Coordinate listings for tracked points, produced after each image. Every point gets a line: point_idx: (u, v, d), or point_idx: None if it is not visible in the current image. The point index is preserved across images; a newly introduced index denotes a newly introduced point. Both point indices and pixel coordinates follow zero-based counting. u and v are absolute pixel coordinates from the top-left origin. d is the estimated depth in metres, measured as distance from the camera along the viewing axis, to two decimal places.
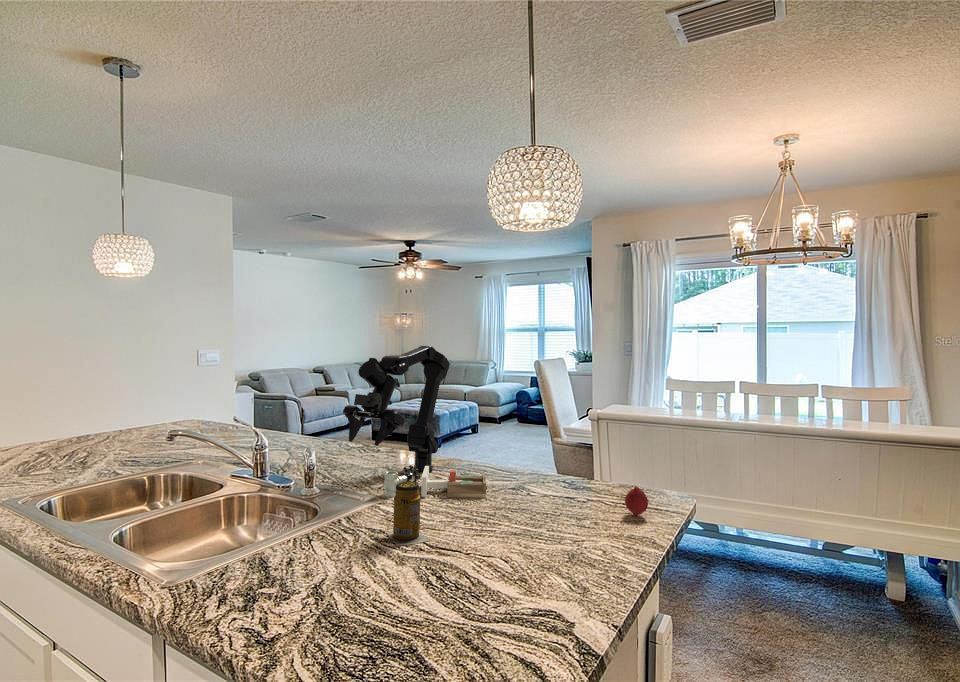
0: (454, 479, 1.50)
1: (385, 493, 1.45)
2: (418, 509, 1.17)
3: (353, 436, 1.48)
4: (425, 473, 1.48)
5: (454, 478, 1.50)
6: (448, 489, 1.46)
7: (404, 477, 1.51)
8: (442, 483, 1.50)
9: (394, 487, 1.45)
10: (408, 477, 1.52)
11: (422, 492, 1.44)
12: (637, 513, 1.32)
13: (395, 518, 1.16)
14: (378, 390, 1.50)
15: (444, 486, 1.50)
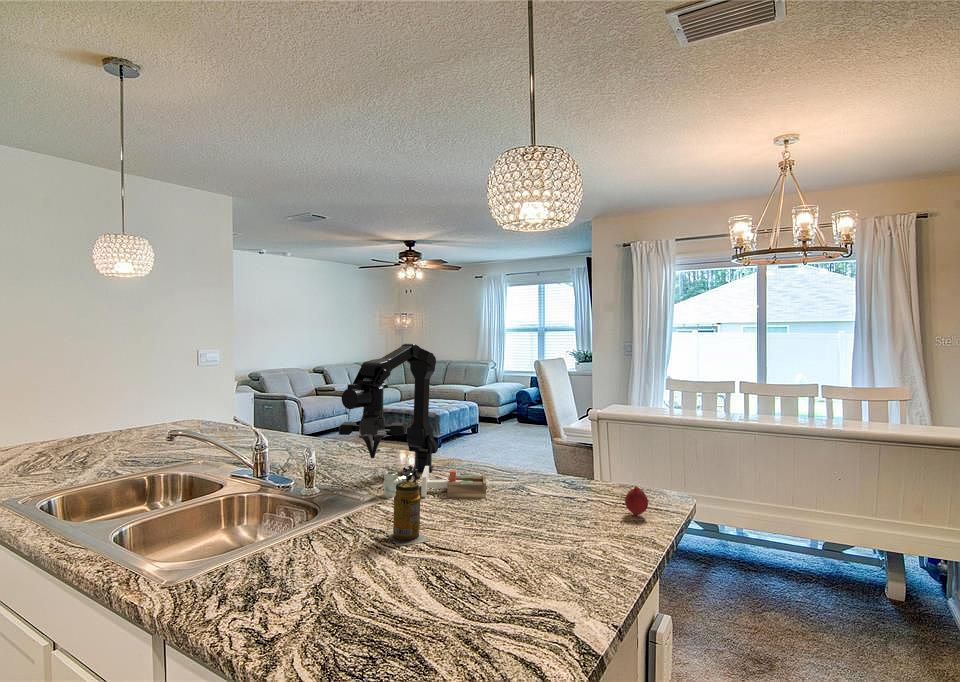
0: (454, 479, 1.50)
1: (385, 494, 1.45)
2: (418, 509, 1.17)
3: None
4: (425, 473, 1.48)
5: (454, 478, 1.50)
6: (448, 489, 1.46)
7: (404, 477, 1.51)
8: (442, 483, 1.50)
9: (393, 487, 1.45)
10: (408, 477, 1.52)
11: (422, 492, 1.44)
12: (637, 513, 1.32)
13: (395, 518, 1.16)
14: (373, 407, 1.47)
15: (444, 486, 1.50)
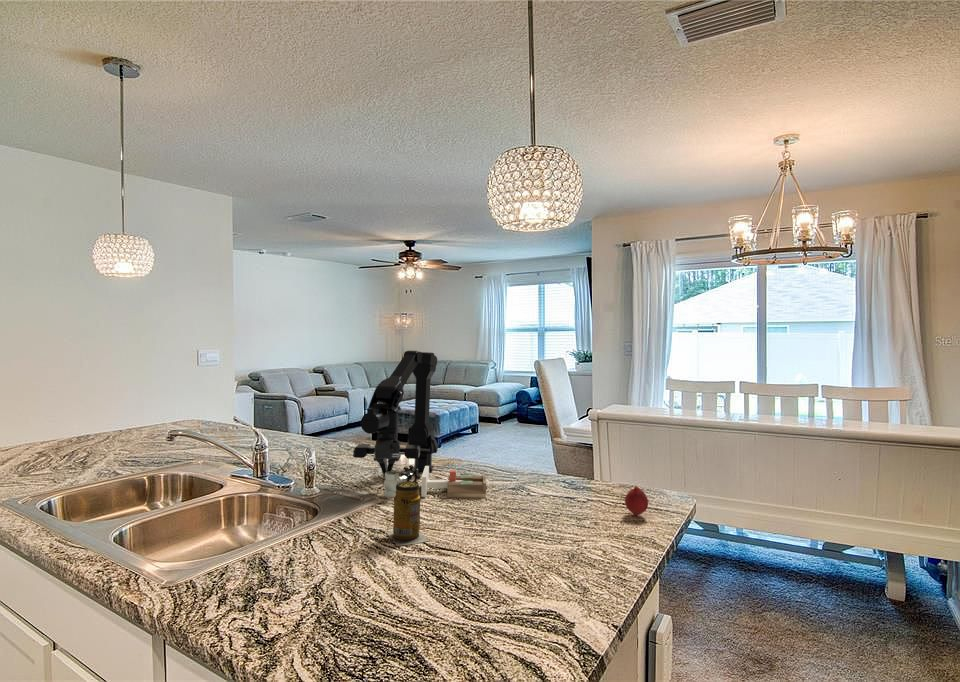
0: (454, 479, 1.50)
1: (386, 493, 1.45)
2: (418, 509, 1.17)
3: None
4: (425, 473, 1.48)
5: (454, 478, 1.50)
6: (448, 489, 1.46)
7: (404, 477, 1.51)
8: (442, 483, 1.50)
9: (394, 487, 1.44)
10: (408, 477, 1.52)
11: (422, 492, 1.44)
12: (637, 513, 1.32)
13: (395, 518, 1.16)
14: (388, 429, 1.47)
15: (444, 486, 1.50)
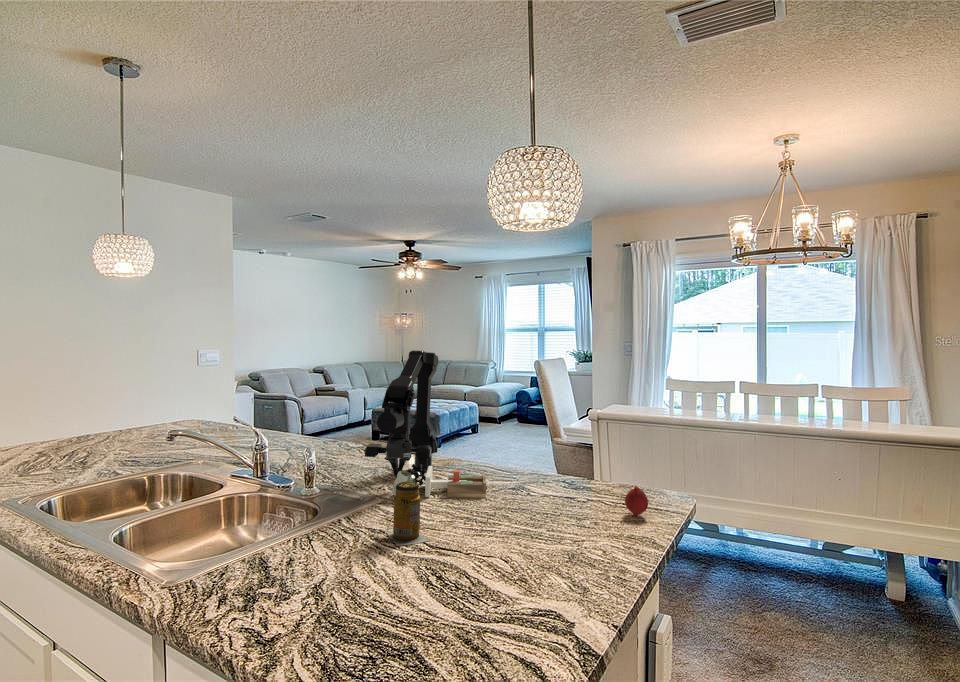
0: (458, 479, 1.50)
1: (394, 492, 1.44)
2: (418, 509, 1.17)
3: None
4: (429, 473, 1.48)
5: (458, 478, 1.50)
6: (448, 489, 1.46)
7: (413, 477, 1.50)
8: (446, 483, 1.50)
9: None
10: (416, 476, 1.52)
11: (426, 492, 1.44)
12: (637, 513, 1.32)
13: (395, 518, 1.16)
14: (400, 429, 1.47)
15: None
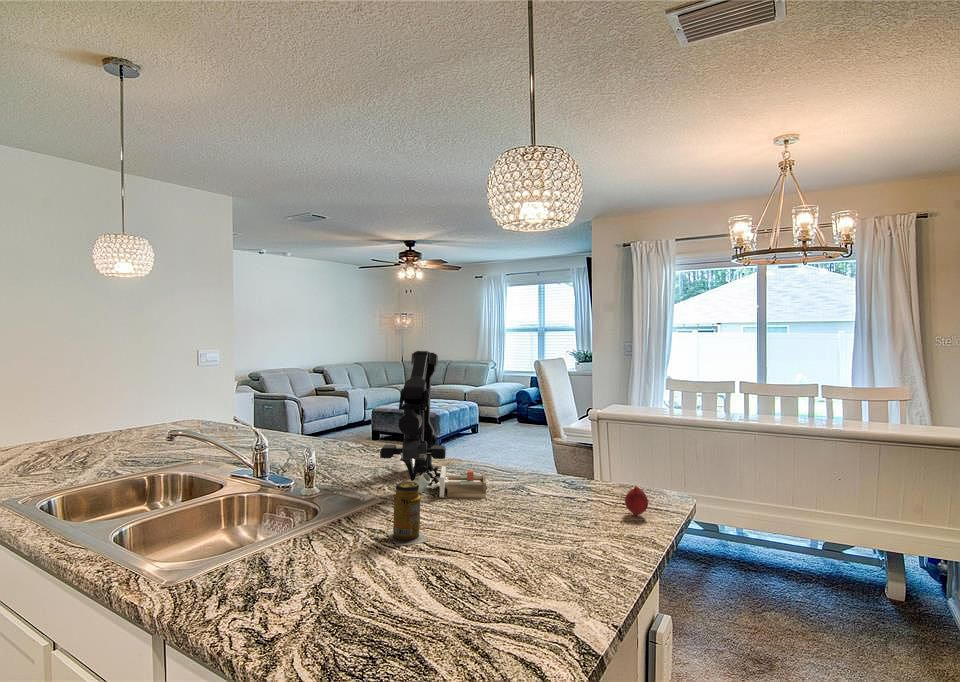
0: (472, 479, 1.50)
1: None
2: (418, 509, 1.17)
3: None
4: (443, 473, 1.48)
5: (472, 478, 1.50)
6: (448, 489, 1.46)
7: None
8: None
9: (421, 492, 1.44)
10: (429, 478, 1.52)
11: (440, 492, 1.45)
12: (637, 513, 1.32)
13: (395, 518, 1.16)
14: None
15: None
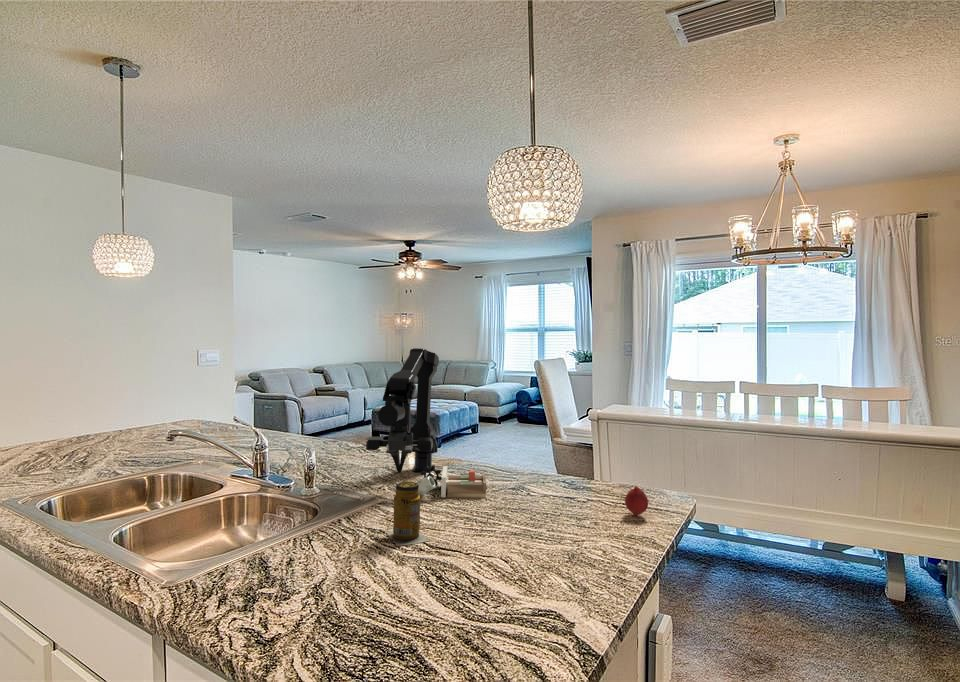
0: (473, 479, 1.50)
1: None
2: (418, 509, 1.17)
3: None
4: (444, 473, 1.48)
5: (473, 478, 1.50)
6: (448, 489, 1.46)
7: None
8: None
9: (423, 494, 1.44)
10: None
11: (442, 492, 1.45)
12: (637, 513, 1.32)
13: (395, 518, 1.16)
14: (401, 422, 1.47)
15: None
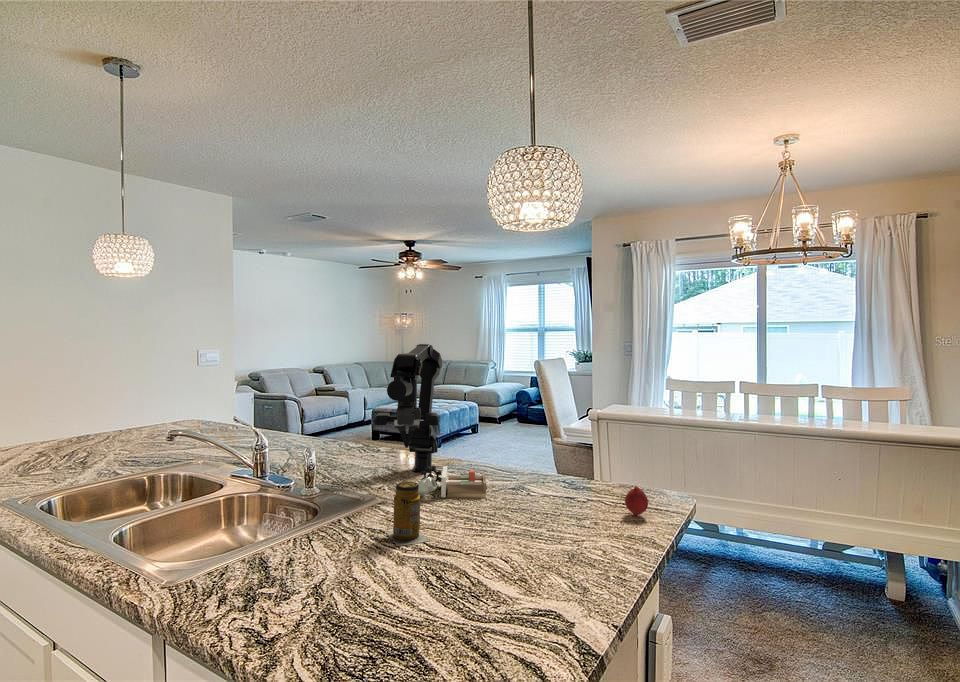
0: (473, 479, 1.50)
1: None
2: (418, 509, 1.17)
3: None
4: (444, 473, 1.48)
5: (473, 478, 1.50)
6: (448, 489, 1.46)
7: None
8: None
9: None
10: None
11: (442, 492, 1.45)
12: (637, 513, 1.32)
13: (395, 518, 1.16)
14: (408, 397, 1.51)
15: None
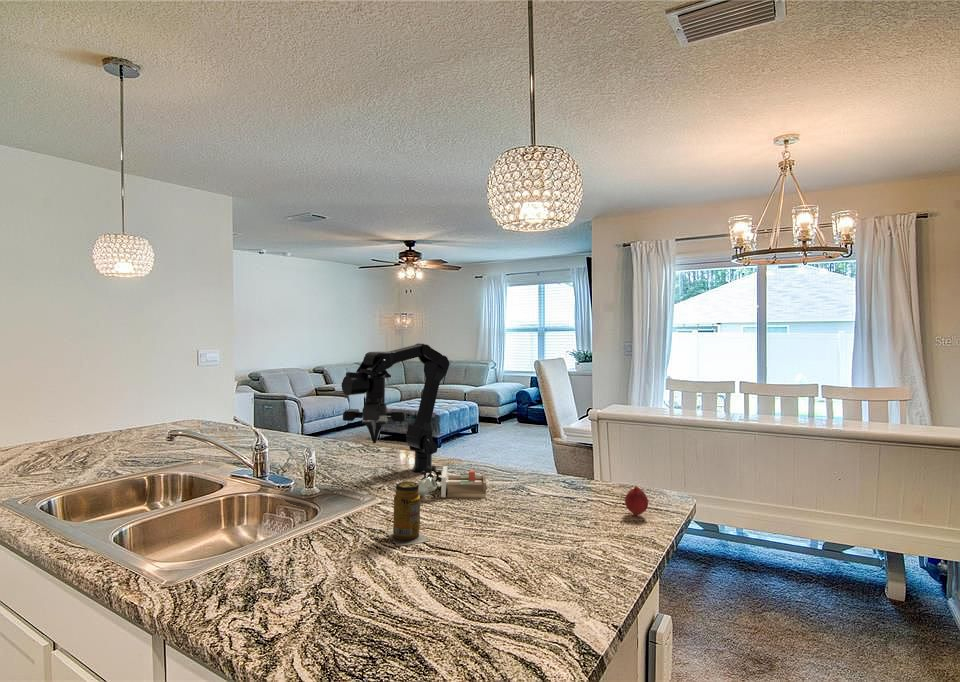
0: (473, 479, 1.50)
1: None
2: (418, 509, 1.17)
3: None
4: (444, 473, 1.48)
5: (473, 478, 1.50)
6: (448, 489, 1.46)
7: None
8: None
9: None
10: None
11: (442, 492, 1.45)
12: (637, 513, 1.32)
13: (395, 518, 1.16)
14: (375, 394, 1.56)
15: None
